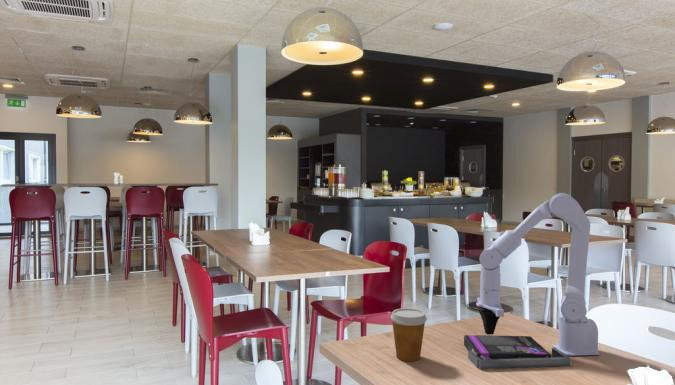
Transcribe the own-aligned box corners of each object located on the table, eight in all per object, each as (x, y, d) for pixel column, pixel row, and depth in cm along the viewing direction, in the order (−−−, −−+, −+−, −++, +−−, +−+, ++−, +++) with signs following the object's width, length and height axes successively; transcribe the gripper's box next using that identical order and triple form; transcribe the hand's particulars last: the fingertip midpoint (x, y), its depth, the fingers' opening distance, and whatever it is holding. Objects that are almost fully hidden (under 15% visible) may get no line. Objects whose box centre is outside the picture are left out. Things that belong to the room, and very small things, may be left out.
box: (476, 366, 124) (552, 366, 124) (476, 353, 124) (552, 352, 124) (463, 346, 138) (531, 346, 138) (463, 334, 138) (531, 334, 137)
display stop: (555, 355, 130) (555, 348, 130) (571, 366, 122) (571, 358, 122) (468, 358, 127) (468, 350, 127) (479, 369, 120) (479, 361, 120)
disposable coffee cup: (427, 352, 131) (428, 309, 131) (424, 365, 122) (425, 319, 122) (393, 349, 134) (393, 306, 133) (387, 361, 125) (387, 316, 124)
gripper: (468, 283, 149) (467, 326, 150) (487, 294, 135) (486, 342, 135) (489, 283, 150) (489, 325, 151) (511, 294, 136) (510, 341, 136)
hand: (489, 333), depth 143 cm, fingers closed
